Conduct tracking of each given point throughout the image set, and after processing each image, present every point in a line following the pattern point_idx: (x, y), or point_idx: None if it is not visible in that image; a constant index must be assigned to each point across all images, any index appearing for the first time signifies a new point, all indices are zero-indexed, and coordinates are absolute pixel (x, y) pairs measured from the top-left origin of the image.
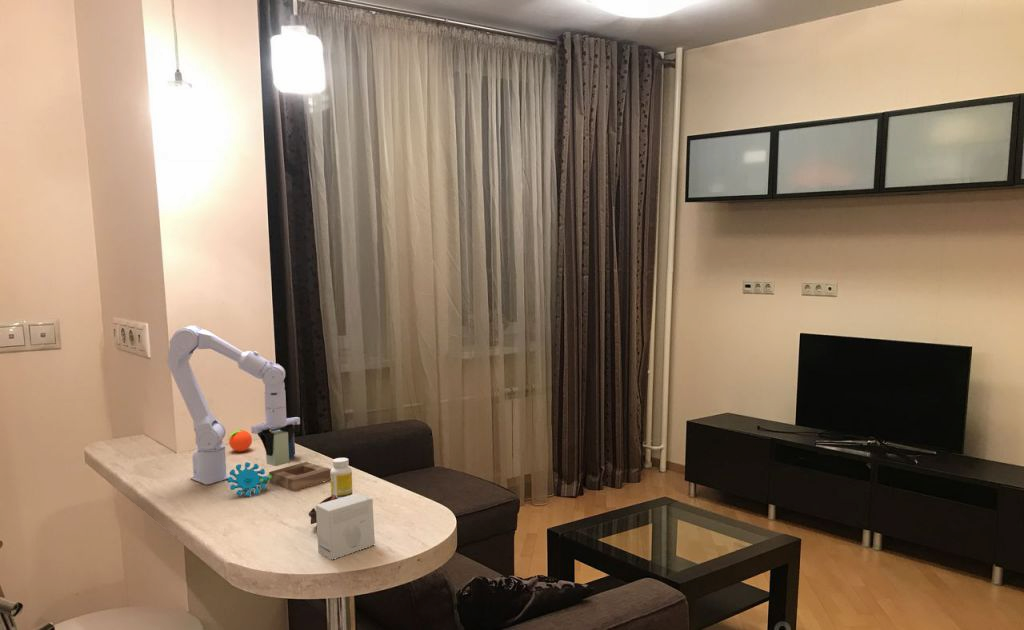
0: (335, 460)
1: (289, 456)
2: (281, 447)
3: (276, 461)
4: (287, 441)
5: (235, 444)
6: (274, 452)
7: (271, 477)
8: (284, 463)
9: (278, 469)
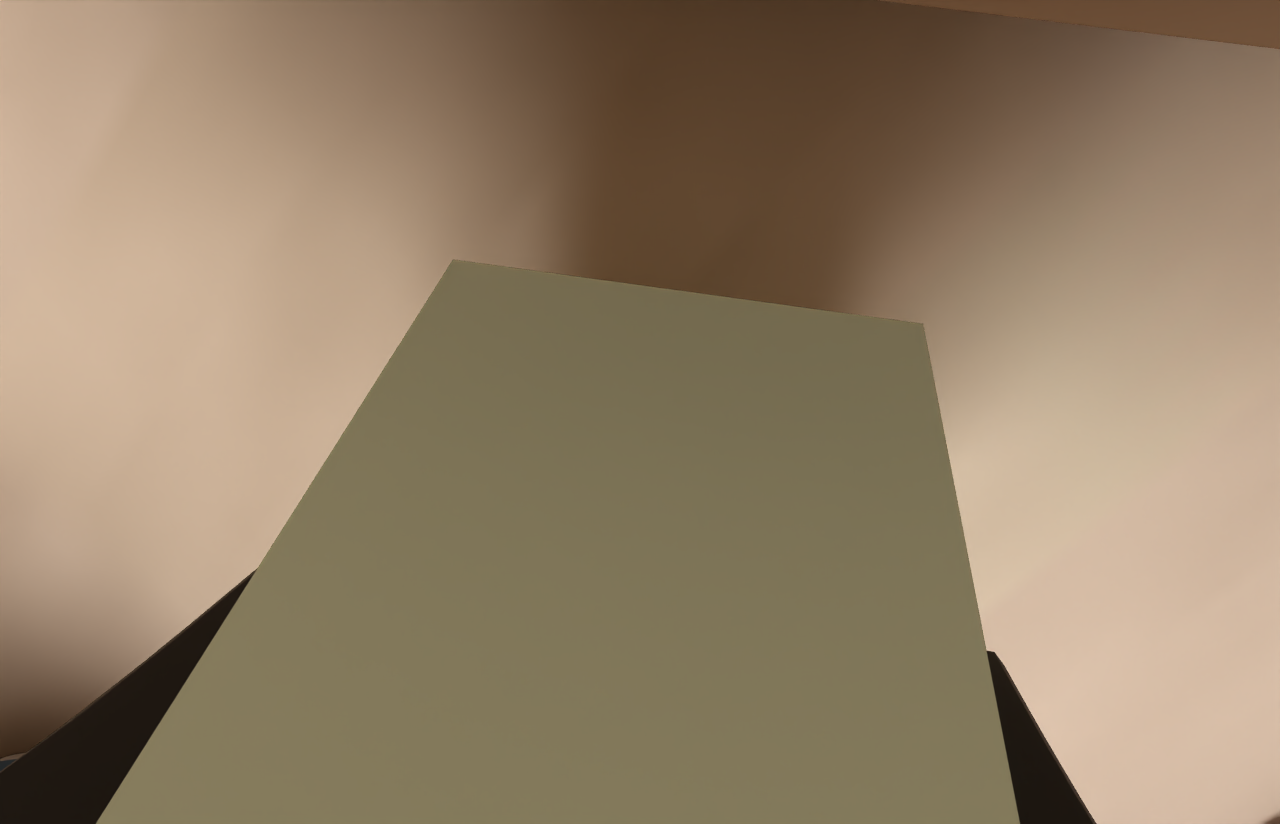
0: None
1: None
2: (611, 670)
3: (883, 389)
4: (171, 796)
5: None
6: (975, 625)
7: None
8: (610, 285)
9: (1103, 12)
